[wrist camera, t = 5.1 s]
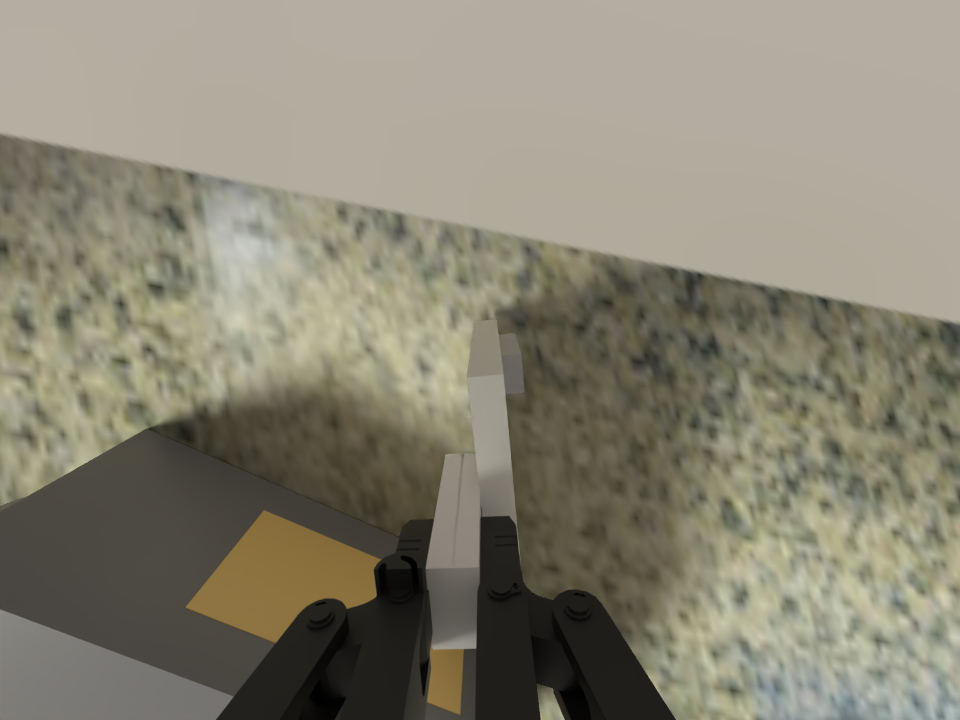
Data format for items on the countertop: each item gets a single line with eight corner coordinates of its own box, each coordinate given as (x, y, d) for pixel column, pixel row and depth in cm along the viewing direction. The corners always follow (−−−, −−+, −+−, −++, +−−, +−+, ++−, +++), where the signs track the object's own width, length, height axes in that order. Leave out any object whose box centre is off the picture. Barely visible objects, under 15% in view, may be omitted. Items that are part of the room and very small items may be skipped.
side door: (474, 321, 24) (466, 377, 15) (511, 317, 24) (528, 372, 14) (501, 582, 29) (509, 756, 19) (533, 579, 29) (556, 754, 19)
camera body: (62, 560, 30) (-236, 788, 18) (106, 410, 27) (-214, 557, 15) (447, 710, 33) (423, 994, 21) (524, 590, 30) (550, 837, 18)
